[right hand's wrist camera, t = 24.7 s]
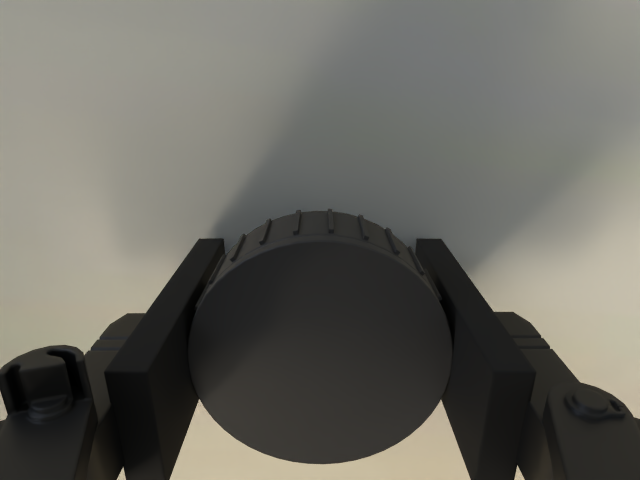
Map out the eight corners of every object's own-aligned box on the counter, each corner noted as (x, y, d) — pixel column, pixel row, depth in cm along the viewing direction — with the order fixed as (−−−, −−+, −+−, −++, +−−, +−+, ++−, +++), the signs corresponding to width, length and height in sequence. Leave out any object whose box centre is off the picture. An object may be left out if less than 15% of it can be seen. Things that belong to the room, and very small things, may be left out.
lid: (162, 264, 11) (129, 304, 10) (384, 166, 11) (399, 188, 9) (269, 433, 13) (260, 495, 12) (464, 363, 13) (491, 418, 11)
